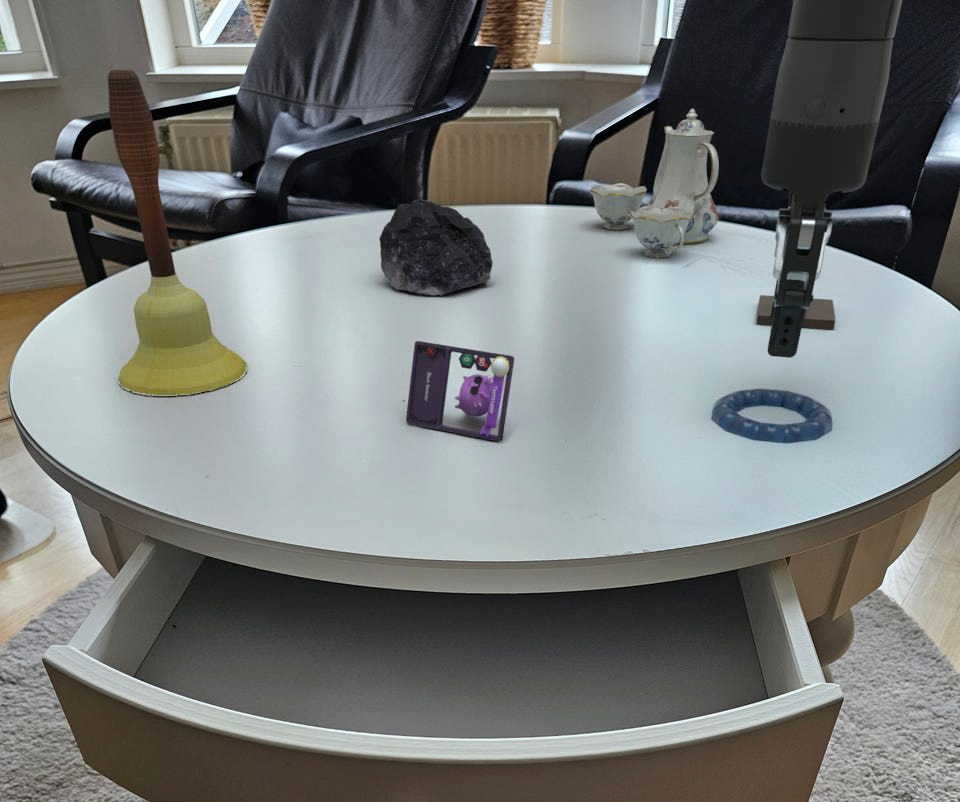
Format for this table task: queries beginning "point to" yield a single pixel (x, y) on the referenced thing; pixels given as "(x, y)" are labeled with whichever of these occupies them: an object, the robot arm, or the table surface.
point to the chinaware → (668, 194)
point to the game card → (474, 391)
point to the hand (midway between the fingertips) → (781, 338)
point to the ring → (789, 433)
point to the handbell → (162, 271)
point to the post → (814, 317)
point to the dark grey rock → (433, 250)
